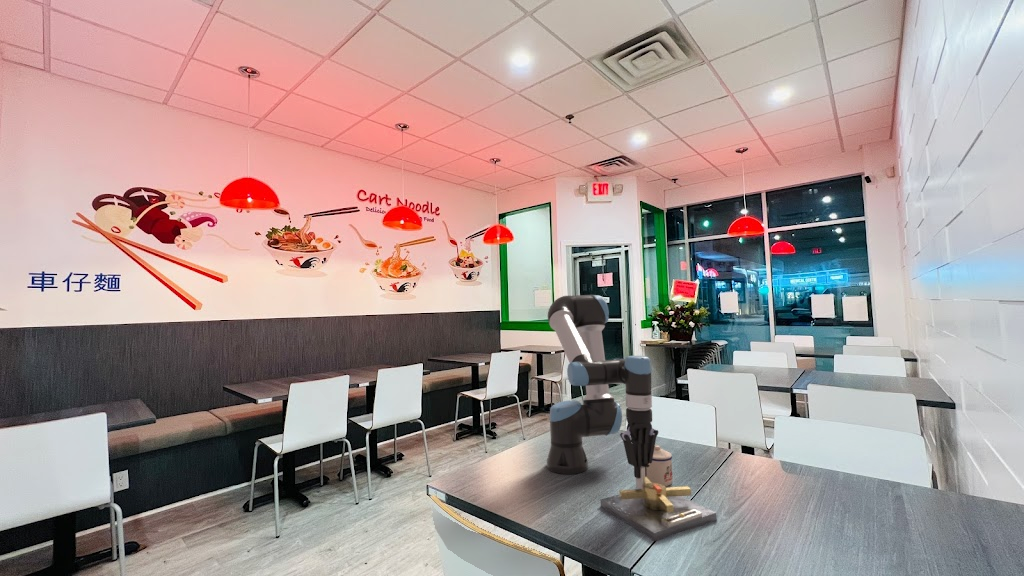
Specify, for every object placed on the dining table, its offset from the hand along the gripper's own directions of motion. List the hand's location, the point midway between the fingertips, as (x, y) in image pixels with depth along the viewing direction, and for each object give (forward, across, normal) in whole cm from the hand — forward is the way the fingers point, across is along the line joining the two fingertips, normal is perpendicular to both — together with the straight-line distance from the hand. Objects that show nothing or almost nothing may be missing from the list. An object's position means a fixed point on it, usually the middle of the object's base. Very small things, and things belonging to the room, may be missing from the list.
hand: (640, 488), depth 129 cm
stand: (+4, 0, -6) cm, 8 cm away
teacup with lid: (+4, +18, +11) cm, 21 cm away
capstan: (+2, 0, -6) cm, 7 cm away
